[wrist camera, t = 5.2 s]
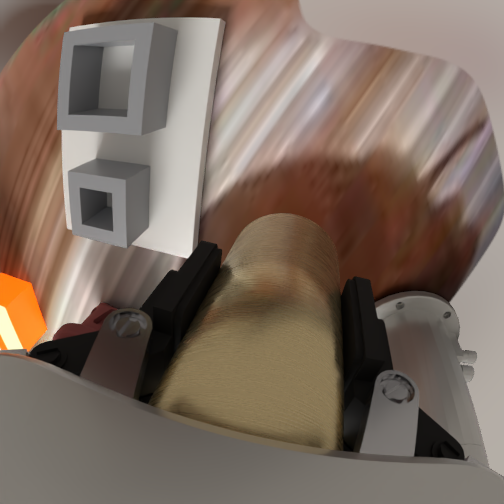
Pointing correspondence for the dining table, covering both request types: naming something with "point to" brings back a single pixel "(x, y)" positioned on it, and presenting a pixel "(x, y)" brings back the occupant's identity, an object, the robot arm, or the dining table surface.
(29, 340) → the orange juice
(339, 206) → the dining table surface
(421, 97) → the dining table surface
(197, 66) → the plate
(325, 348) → the brass pipe fitting
